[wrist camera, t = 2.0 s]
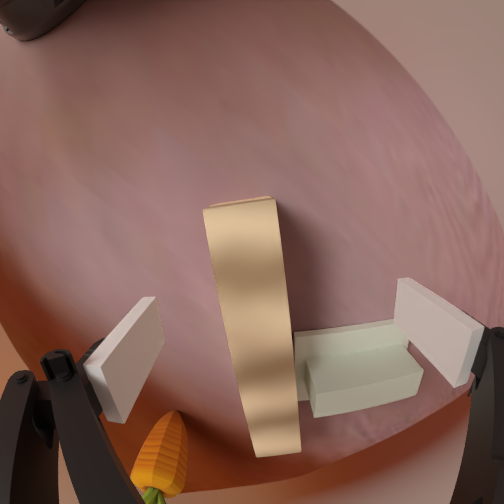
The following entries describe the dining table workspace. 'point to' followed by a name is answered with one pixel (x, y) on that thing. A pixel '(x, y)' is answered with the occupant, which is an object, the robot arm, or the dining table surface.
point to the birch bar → (256, 318)
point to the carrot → (162, 460)
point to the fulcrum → (354, 367)
